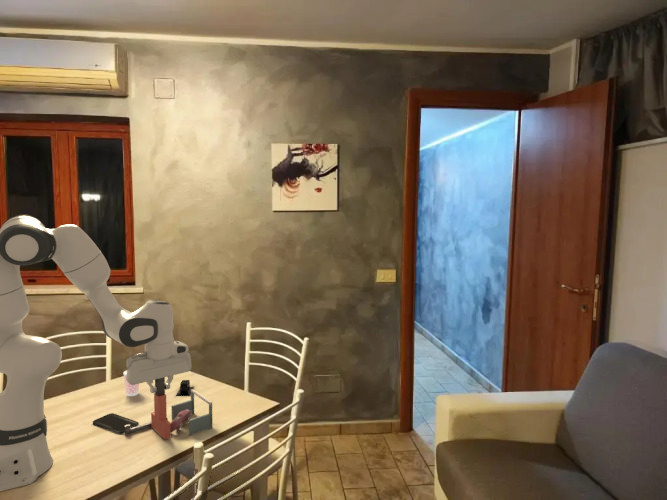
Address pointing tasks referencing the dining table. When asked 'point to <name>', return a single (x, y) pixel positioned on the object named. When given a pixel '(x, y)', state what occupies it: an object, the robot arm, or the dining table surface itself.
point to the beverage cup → (130, 387)
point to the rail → (136, 428)
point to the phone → (114, 423)
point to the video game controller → (180, 420)
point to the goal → (195, 423)
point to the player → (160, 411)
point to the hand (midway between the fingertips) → (160, 390)
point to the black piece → (184, 388)
